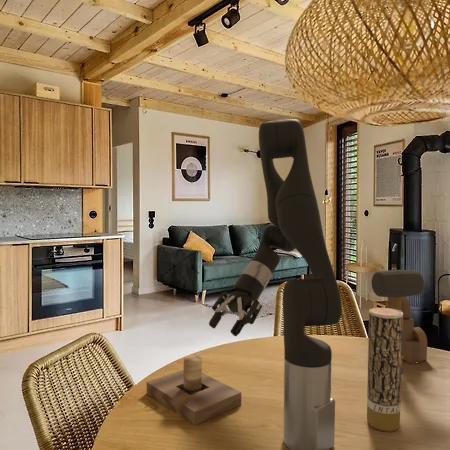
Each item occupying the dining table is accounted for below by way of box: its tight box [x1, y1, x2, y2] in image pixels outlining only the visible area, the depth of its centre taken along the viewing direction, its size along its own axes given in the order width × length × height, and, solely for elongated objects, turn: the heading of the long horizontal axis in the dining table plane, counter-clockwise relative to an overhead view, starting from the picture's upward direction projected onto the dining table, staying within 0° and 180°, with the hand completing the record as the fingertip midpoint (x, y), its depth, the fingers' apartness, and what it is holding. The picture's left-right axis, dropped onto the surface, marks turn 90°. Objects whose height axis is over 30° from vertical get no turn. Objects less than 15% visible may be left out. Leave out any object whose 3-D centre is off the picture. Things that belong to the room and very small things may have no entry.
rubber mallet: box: [371, 269, 425, 376], centre depth 114 cm, size 12×8×30 cm, turn 102°
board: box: [146, 369, 242, 426], centre depth 102 cm, size 20×14×3 cm
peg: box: [183, 355, 203, 395], centre depth 102 cm, size 5×5×10 cm
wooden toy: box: [386, 296, 428, 364], centre depth 131 cm, size 16×7×25 cm, turn 25°
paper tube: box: [366, 307, 403, 432], centre depth 90 cm, size 7×7×25 cm
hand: (221, 330), depth 107 cm, fingers open, 8 cm apart
